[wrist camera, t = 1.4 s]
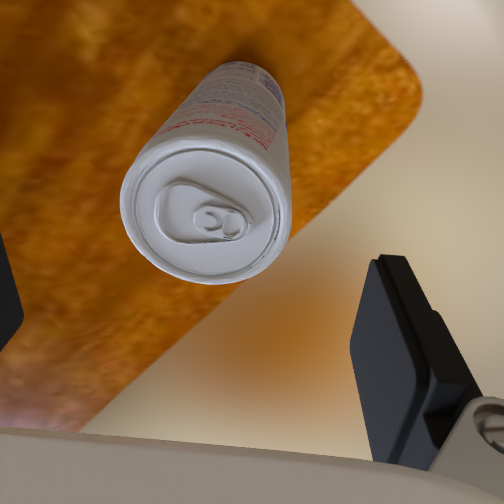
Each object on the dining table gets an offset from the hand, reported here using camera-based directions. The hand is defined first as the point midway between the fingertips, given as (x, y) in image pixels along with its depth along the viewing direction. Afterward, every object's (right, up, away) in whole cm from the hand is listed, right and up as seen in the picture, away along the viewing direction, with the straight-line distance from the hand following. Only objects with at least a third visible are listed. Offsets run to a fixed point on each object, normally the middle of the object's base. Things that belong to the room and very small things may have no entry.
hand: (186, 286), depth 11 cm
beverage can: (+1, +10, +15) cm, 18 cm away
